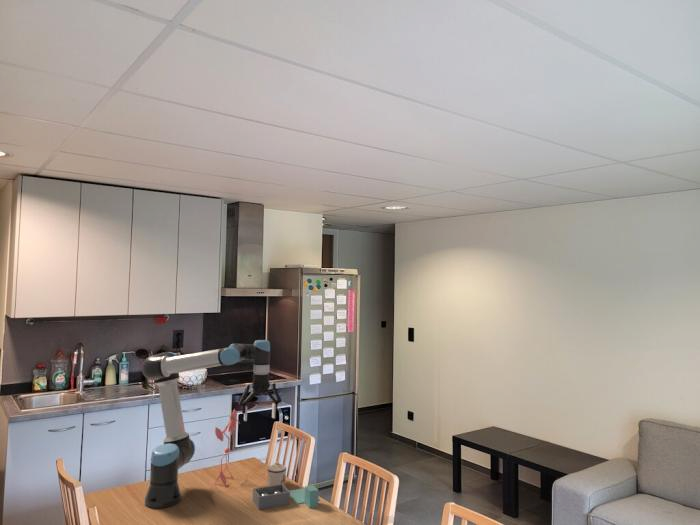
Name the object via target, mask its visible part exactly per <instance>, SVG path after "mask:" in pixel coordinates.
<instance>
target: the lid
mask: <svg viewBox="0 0 700 525" xmlns="http://www.w3.org/2000/svg"><path fill="white" fill-rule="evenodd" d="M289 491H290V498H291V499H292V500H293V501H294V502H295V503H296V504H297V505H300V504H305V506H307V507H308V508H309V509H313V508H318V507H319V501H320V498H319V489H318V488H317V487H316V486H315V485H314V484H312V485H305V486H304V487H303V488H296V489H291V490H289Z"/></svg>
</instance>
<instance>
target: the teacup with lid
mask: <svg viewBox="0 0 700 525" xmlns="http://www.w3.org/2000/svg"><path fill="white" fill-rule="evenodd" d="M286 473H287V466H286V465H285V464H281V463H280V462H279V461H275V462H274V463H273V464H270V465H269V466H267V486H272V485H278V484H283V485H284V486H285V487H286V480H287V479H286V478H287V477H286V475H287V474H286Z"/></svg>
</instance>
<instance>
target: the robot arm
mask: <svg viewBox="0 0 700 525" xmlns="http://www.w3.org/2000/svg"><path fill="white" fill-rule="evenodd" d="M270 359H271V342H270V340H267V339H257V340H255V341H254V343H251V344H250V343H249V344H247V343H231V344H230V345H229V346H227V347H223V348H218V349H211V350H205V351H199V352H193V353H187V354H181V355H178V354H176V353H174V352H171V351H165V352H161V353H160V352H159V353H157V354H154V355H149V356H148V357H146V359H145V360H144V361H143V363H142V366H141V372H142V375H143V376H144V377H145V378H146V379H148V380H149V381H153V384H154V385H156V386H157V388H158V393H159V398H160V399H159V400H160V405H161V412H162V418H163V425H164V430H165V438H164V439H163V444H162V445H161V444H160V445H157V446H156V447H155V448H154V449H153V450H152V451H151V456H150V470H149V471H150V473H149V474H150V475H149V486H148V489H147V490H146V494H145V496H144V505H145V506H146V507H148V508H153V509H164V508H169V507H172V506H175V505H177V504H179V503H180V501H181V499H182V492H181V489H180V486H179V482H178V479H179V478H178V477H179V469H181V468H182V467H184V466H185V465H186V464H188V463H189V462H190V461H191V460H192V458H193V457H194V455H195V454H196V444H195V443H194V441H193V439H191V437H190V434H189V433H188V432H187V431H185V430H186V429H185V423H184V422H185V421H184V418H183V411H182V406H181V398H180V394H179V387H178V381H179V379H180V373H185V372H190V371H196V370H203V369H208V368H209V369H210V368H214V367H220V366H232V365H235V364H237V363H239V362H241V361H253V374H252V384H249V383H246V385H245V389H244V390H243V392H242V395H241V397H240V399H239V401H238V405H239V406H240V407H241V413H242V414H243V421H244V422H247V421H248V406H247V405H248V404H249V402H250V401H251V400H252V399H253V397H255V396H256V395H260V394H262V395H263V394H266V395H267V396H268V397H269V399H271V401H272V403H271V404H272V405H271V406H272V407H271V409H272V410H271V418H272V419H276V411H278V405H279V403H282V398H281V397H280V394H279V392H278V390H277V388H276V385H277V384H276V383H275V382H270V364H271V363H270V362H271V360H270ZM269 388H271V389H272V391H273V393H274V395H273V394H272V393H271V391H270V390H269ZM251 389H252V390H251ZM250 390H251V392H250V394H249V391H250ZM248 394H249V395H248ZM274 396H275V397H274Z"/></svg>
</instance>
